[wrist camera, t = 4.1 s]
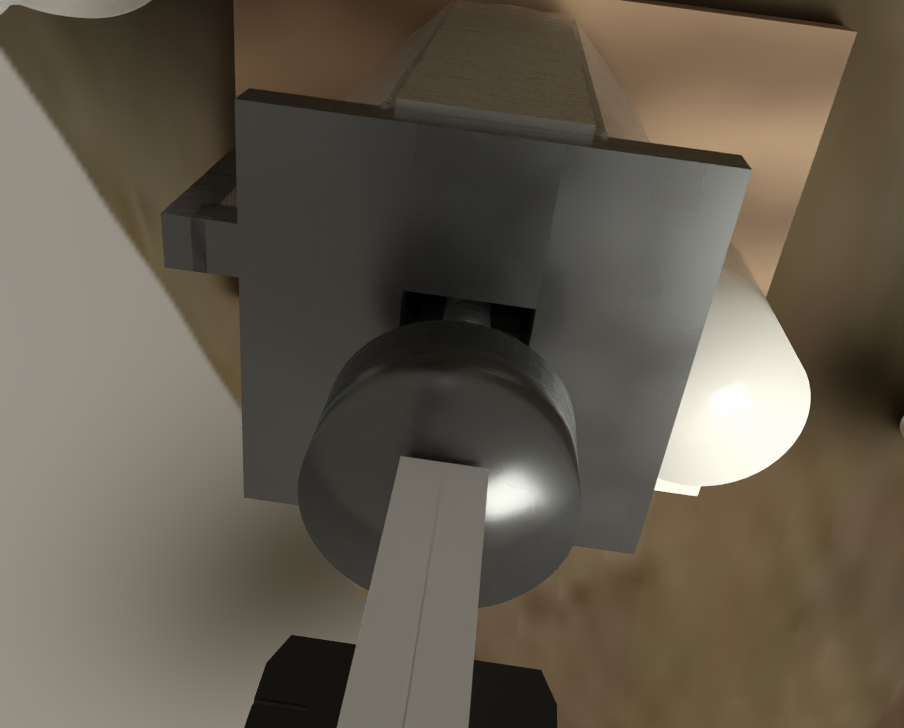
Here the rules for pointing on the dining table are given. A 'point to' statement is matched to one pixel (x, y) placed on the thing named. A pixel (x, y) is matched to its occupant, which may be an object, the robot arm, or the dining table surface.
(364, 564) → the plunger
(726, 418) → the mug
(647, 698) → the dining table surface
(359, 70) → the board
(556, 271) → the carafe
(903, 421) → the lightbulb
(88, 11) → the figurine
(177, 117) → the dining table surface
